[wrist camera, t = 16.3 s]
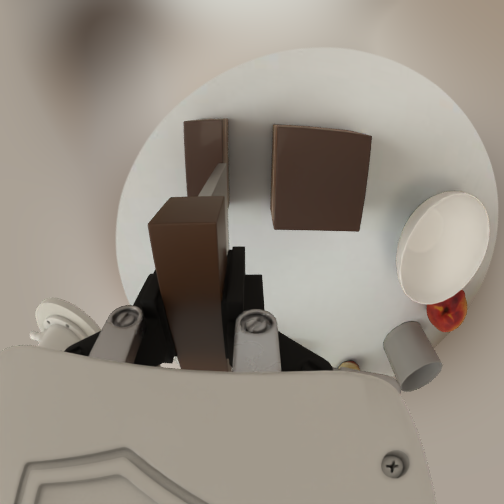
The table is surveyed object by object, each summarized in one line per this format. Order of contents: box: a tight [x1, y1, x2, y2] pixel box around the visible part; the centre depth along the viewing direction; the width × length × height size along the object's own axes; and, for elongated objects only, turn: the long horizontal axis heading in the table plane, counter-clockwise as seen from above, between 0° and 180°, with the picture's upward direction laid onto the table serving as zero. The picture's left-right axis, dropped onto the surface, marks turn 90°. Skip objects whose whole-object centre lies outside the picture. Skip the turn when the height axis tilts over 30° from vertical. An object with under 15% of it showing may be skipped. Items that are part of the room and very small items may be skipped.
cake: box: [270, 124, 372, 232], centre depth 27 cm, size 9×10×6 cm
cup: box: [383, 321, 442, 392], centre depth 39 cm, size 8×8×10 cm
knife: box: [148, 163, 232, 372], centre depth 14 cm, size 2×8×12 cm, turn 0°
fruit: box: [426, 290, 467, 332], centre depth 35 cm, size 8×8×8 cm
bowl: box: [396, 191, 490, 304], centre depth 30 cm, size 16×16×7 cm
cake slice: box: [184, 118, 229, 207], centre depth 27 cm, size 4×10×6 cm, turn 0°
